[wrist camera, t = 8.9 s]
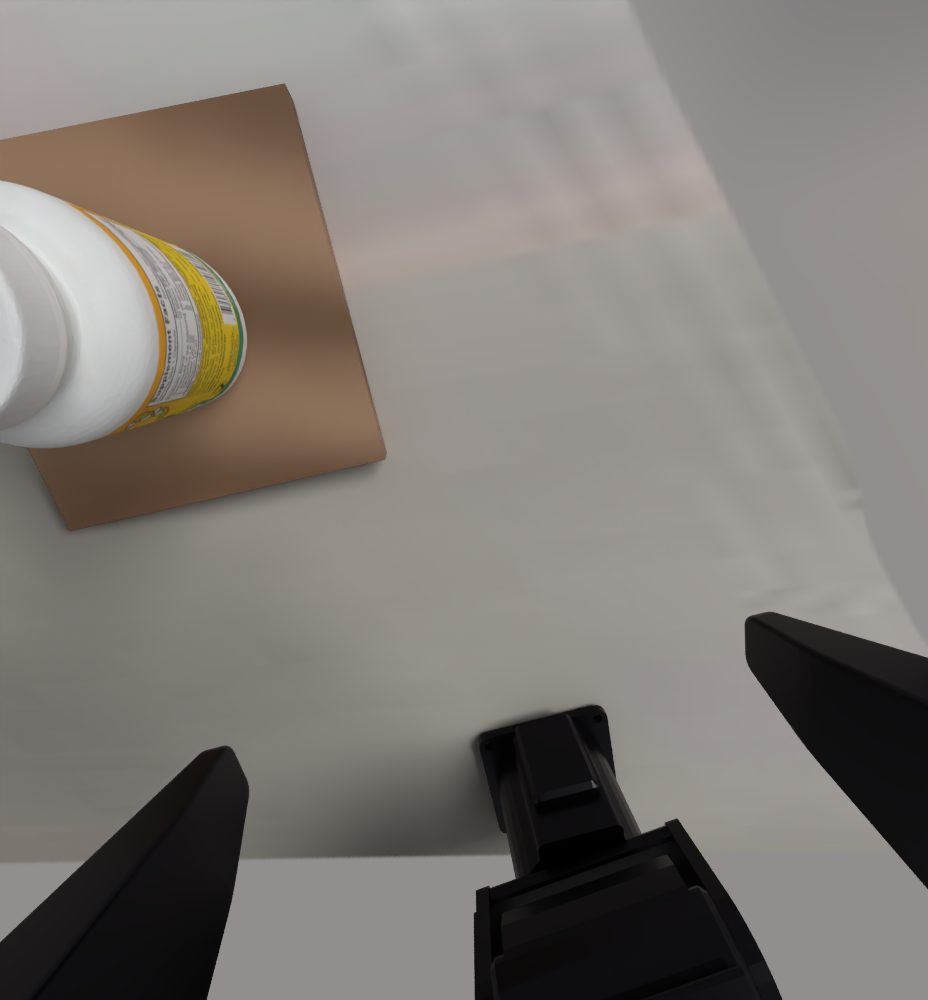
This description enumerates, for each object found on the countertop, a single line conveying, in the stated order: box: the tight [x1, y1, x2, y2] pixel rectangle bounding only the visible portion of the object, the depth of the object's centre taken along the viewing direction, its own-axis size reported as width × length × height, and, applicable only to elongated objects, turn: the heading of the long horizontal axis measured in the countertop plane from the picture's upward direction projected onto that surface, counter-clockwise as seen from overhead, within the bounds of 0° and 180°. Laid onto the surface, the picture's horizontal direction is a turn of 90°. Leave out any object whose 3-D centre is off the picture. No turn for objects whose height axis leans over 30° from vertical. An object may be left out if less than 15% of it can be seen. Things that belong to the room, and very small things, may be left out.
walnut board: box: [0, 84, 387, 531], centre depth 17 cm, size 12×12×1 cm
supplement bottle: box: [0, 181, 247, 448], centre depth 12 cm, size 5×5×10 cm
